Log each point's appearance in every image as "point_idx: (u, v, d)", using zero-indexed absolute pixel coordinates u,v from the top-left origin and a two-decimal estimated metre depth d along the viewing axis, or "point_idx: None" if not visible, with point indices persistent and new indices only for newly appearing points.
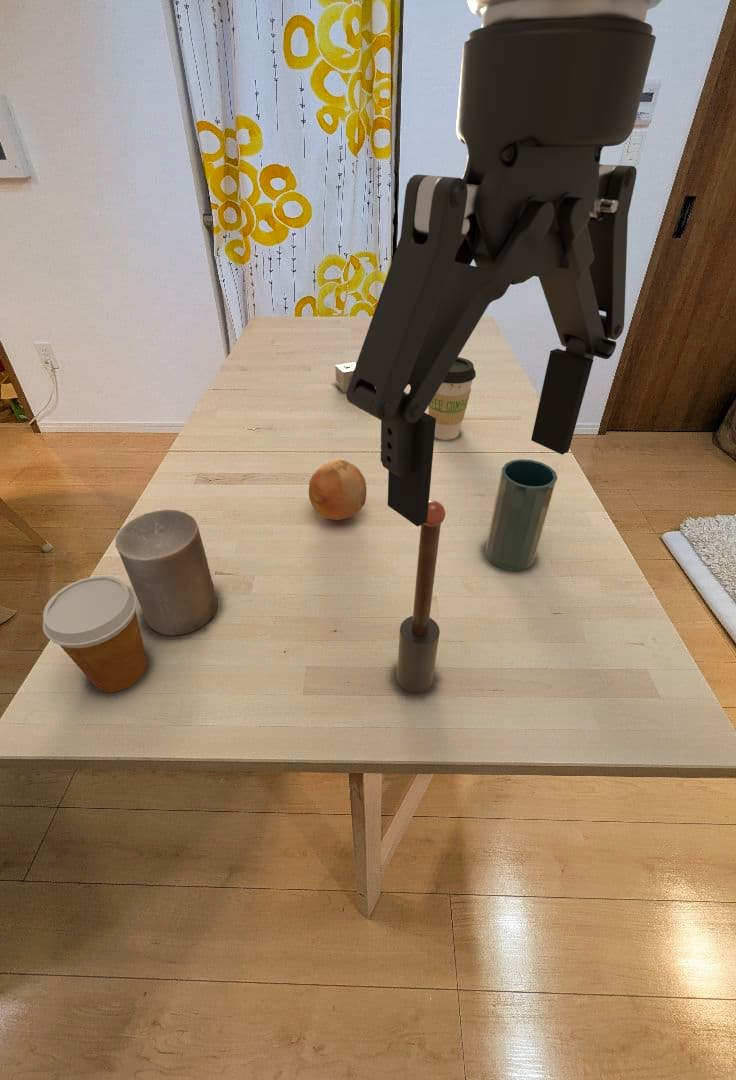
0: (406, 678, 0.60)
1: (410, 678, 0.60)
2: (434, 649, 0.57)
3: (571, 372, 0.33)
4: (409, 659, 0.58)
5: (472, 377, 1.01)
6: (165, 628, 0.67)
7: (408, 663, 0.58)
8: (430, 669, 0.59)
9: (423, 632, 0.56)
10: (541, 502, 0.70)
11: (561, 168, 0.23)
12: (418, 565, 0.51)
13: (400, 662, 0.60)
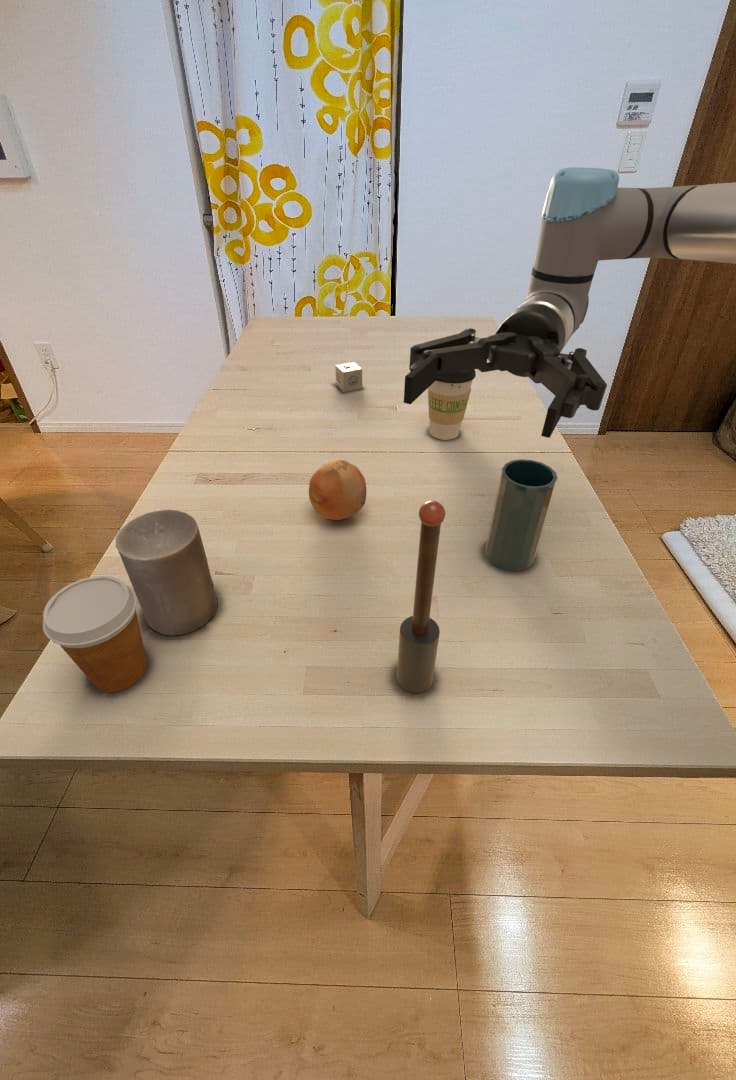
0: (406, 678, 0.60)
1: (410, 678, 0.60)
2: (434, 649, 0.57)
3: None
4: (409, 659, 0.58)
5: (472, 377, 1.01)
6: (165, 628, 0.67)
7: (408, 663, 0.58)
8: (430, 669, 0.59)
9: (423, 632, 0.56)
10: (541, 502, 0.70)
11: None
12: (418, 565, 0.51)
13: (400, 662, 0.60)
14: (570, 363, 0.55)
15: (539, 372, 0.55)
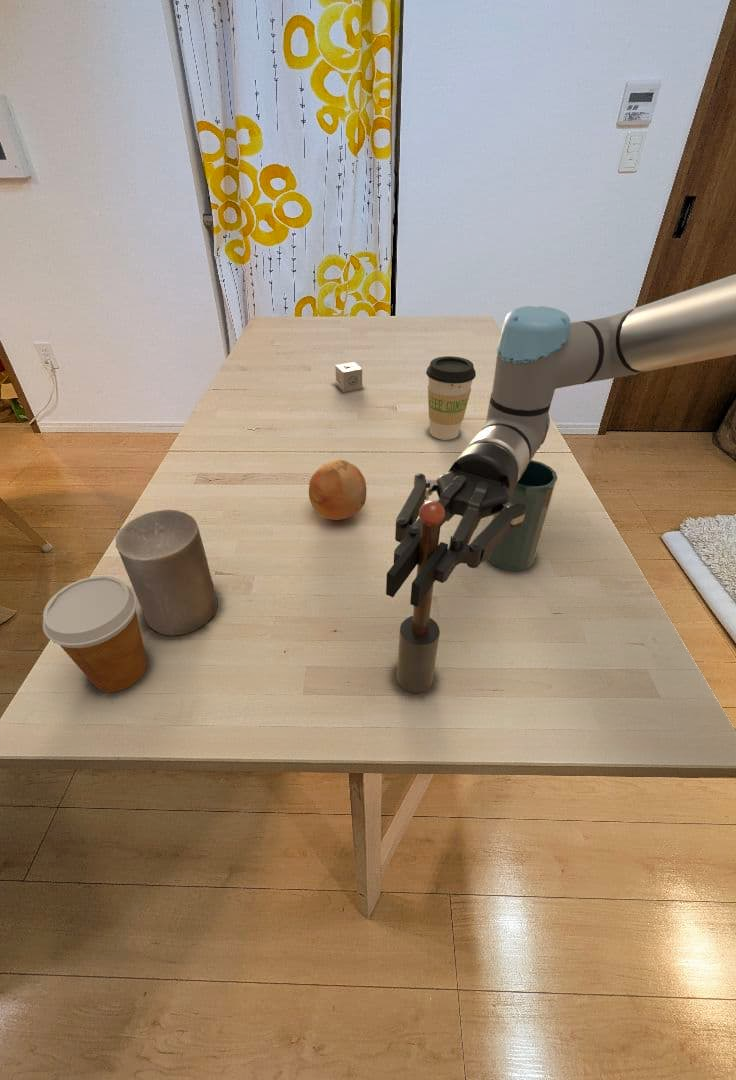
0: (406, 678, 0.60)
1: (410, 678, 0.60)
2: (434, 649, 0.57)
3: None
4: (409, 659, 0.58)
5: (472, 377, 1.01)
6: (165, 628, 0.67)
7: (408, 663, 0.58)
8: (430, 669, 0.59)
9: (423, 632, 0.56)
10: (541, 502, 0.70)
11: (480, 481, 0.58)
12: (418, 565, 0.51)
13: (400, 662, 0.60)
14: None
15: None
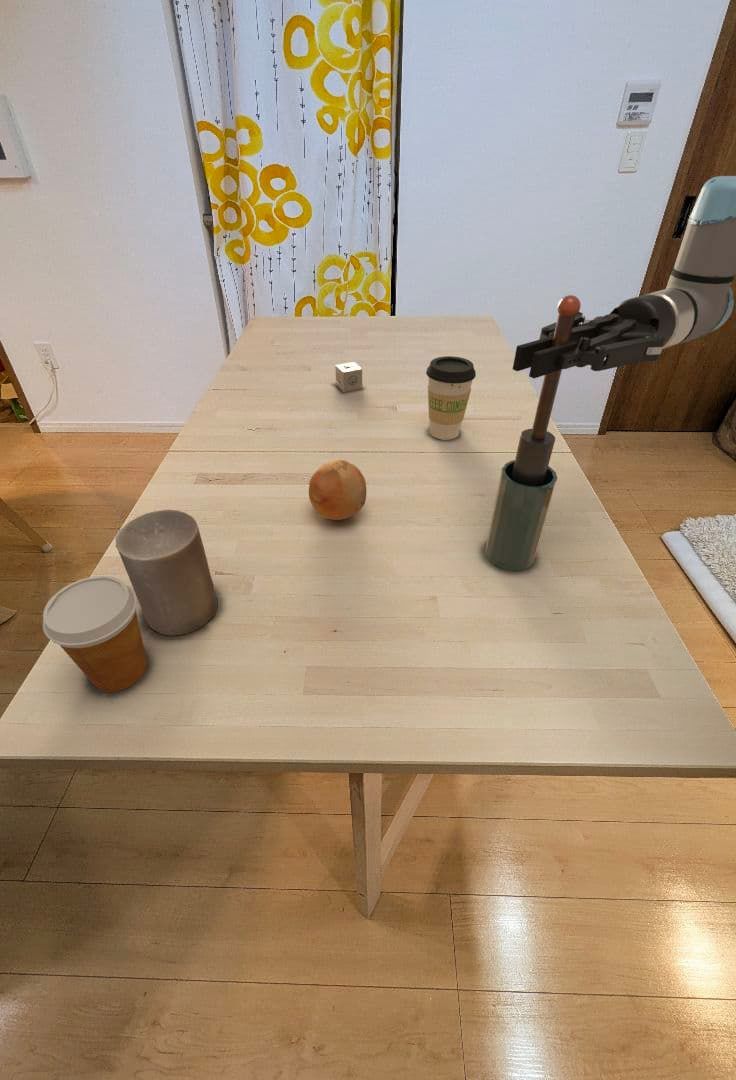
0: None
1: (519, 481, 0.70)
2: (545, 454, 0.67)
3: None
4: (521, 460, 0.69)
5: (472, 377, 1.01)
6: (165, 628, 0.67)
7: (520, 464, 0.69)
8: (538, 477, 0.69)
9: (539, 435, 0.67)
10: (541, 502, 0.70)
11: None
12: None
13: (514, 466, 0.71)
14: None
15: None
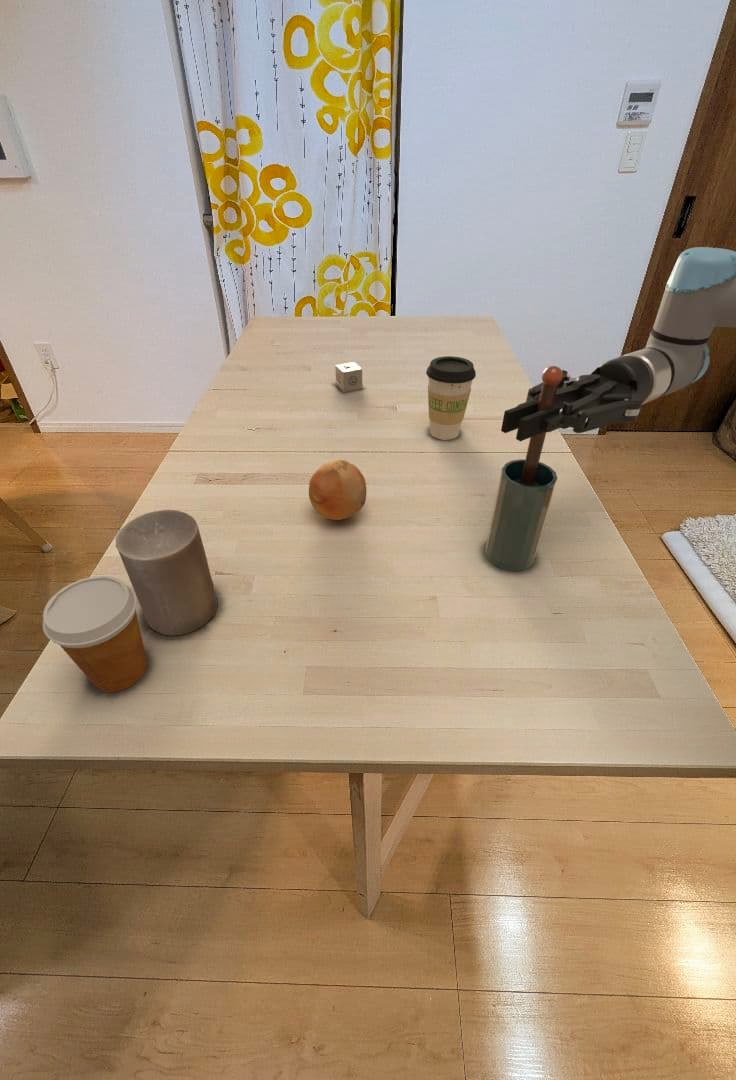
0: None
1: None
2: None
3: None
4: None
5: (472, 377, 1.01)
6: (165, 628, 0.67)
7: None
8: None
9: None
10: (541, 502, 0.70)
11: None
12: None
13: None
14: None
15: None
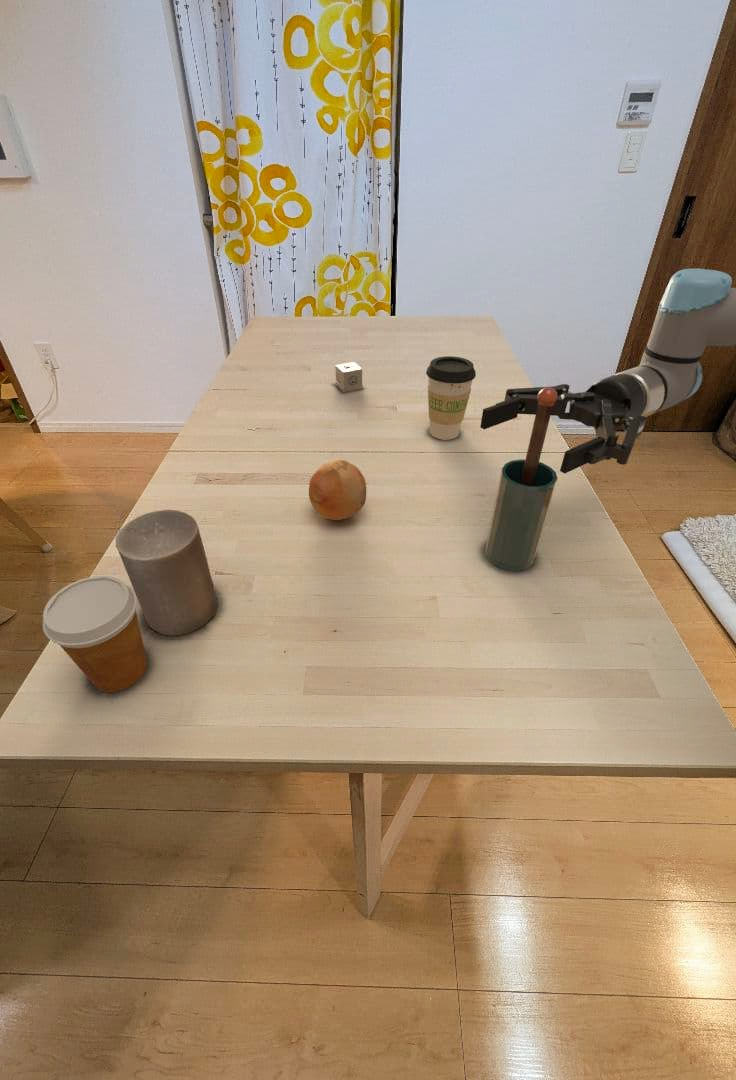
0: None
1: None
2: None
3: None
4: None
5: (472, 377, 1.01)
6: (165, 628, 0.67)
7: None
8: None
9: None
10: (541, 502, 0.70)
11: None
12: (530, 441, 0.68)
13: None
14: (628, 426, 0.68)
15: (598, 427, 0.69)
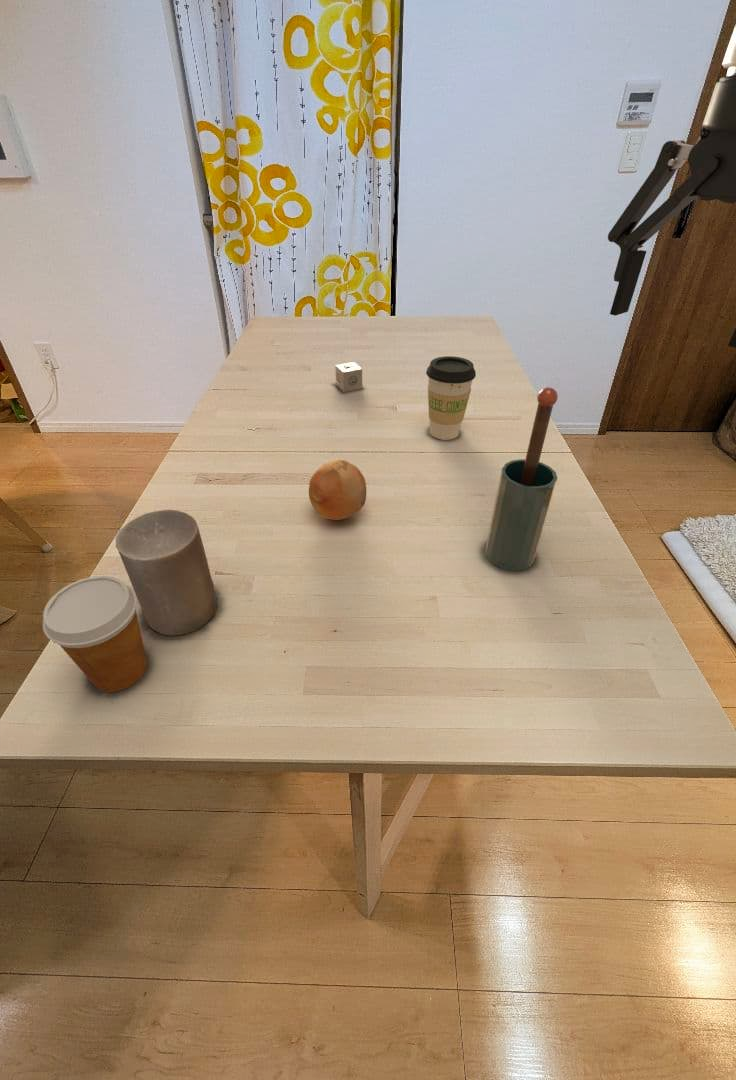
0: None
1: None
2: None
3: None
4: None
5: (472, 377, 1.01)
6: (165, 628, 0.67)
7: None
8: None
9: None
10: (541, 502, 0.70)
11: None
12: (530, 441, 0.68)
13: None
14: None
15: None
